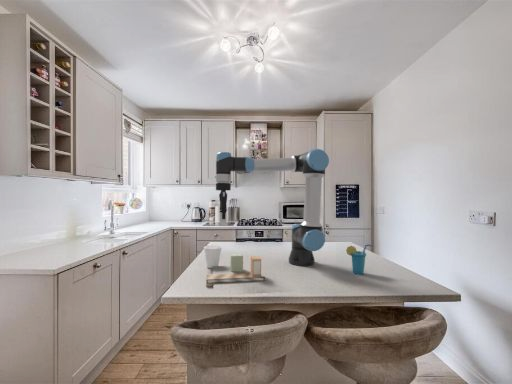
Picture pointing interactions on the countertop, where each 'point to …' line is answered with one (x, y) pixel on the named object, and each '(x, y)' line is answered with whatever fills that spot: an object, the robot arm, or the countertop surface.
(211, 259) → the cup
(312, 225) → the robot arm
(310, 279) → the countertop surface
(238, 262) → the carton
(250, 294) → the countertop surface
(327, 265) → the countertop surface
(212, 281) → the wavy tan tray
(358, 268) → the cup
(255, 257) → the faced carton
